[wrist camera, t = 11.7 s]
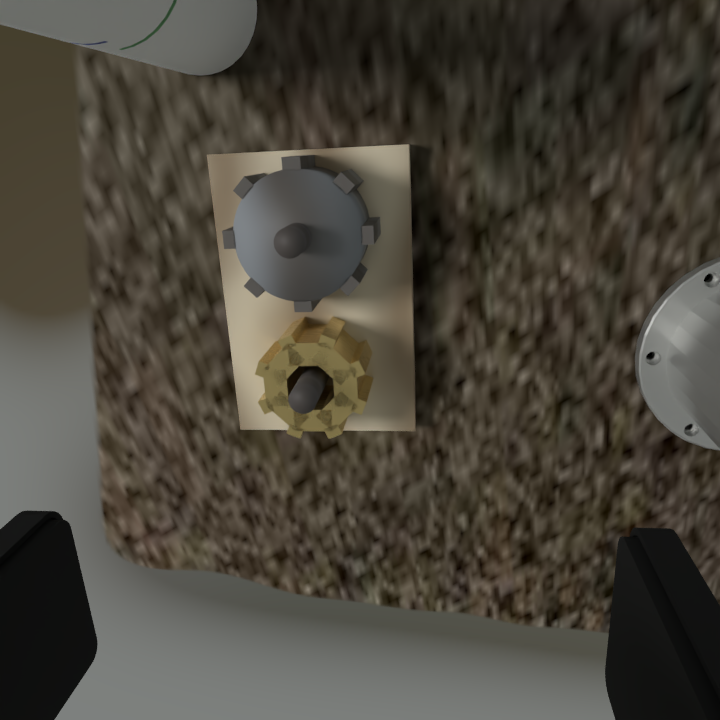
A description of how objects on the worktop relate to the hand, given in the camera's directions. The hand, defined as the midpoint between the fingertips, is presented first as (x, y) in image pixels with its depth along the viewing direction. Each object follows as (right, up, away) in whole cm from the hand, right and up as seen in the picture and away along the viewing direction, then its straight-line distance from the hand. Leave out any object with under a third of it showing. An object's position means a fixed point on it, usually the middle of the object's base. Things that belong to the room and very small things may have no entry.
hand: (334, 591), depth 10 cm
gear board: (-2, +8, +30) cm, 31 cm away
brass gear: (-2, +4, +30) cm, 30 cm away
